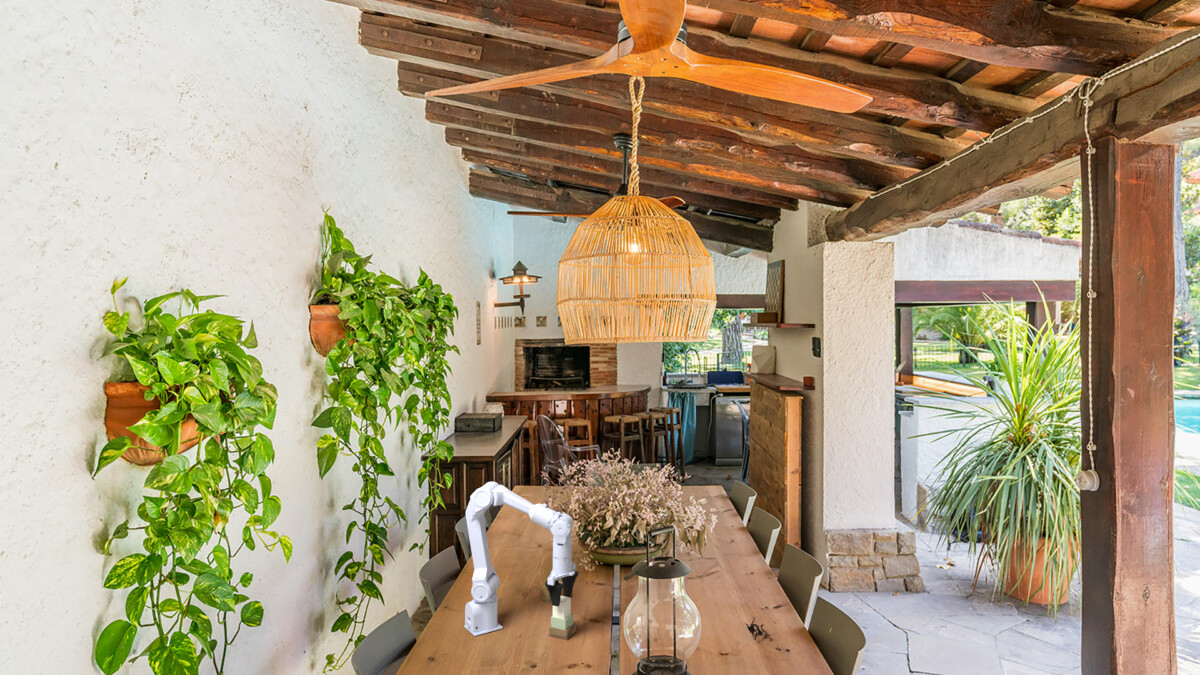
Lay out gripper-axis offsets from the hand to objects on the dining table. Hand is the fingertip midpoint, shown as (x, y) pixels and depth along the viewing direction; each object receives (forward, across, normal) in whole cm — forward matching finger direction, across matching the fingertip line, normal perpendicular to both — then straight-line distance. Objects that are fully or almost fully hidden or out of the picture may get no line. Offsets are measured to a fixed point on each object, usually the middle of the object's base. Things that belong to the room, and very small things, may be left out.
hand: (561, 600), depth 199 cm
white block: (+4, 0, 0) cm, 4 cm away
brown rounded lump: (+10, +24, +15) cm, 30 cm away
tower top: (+7, 0, 0) cm, 7 cm away
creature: (+10, +23, -55) cm, 61 cm away
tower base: (+10, 0, 0) cm, 10 cm away
